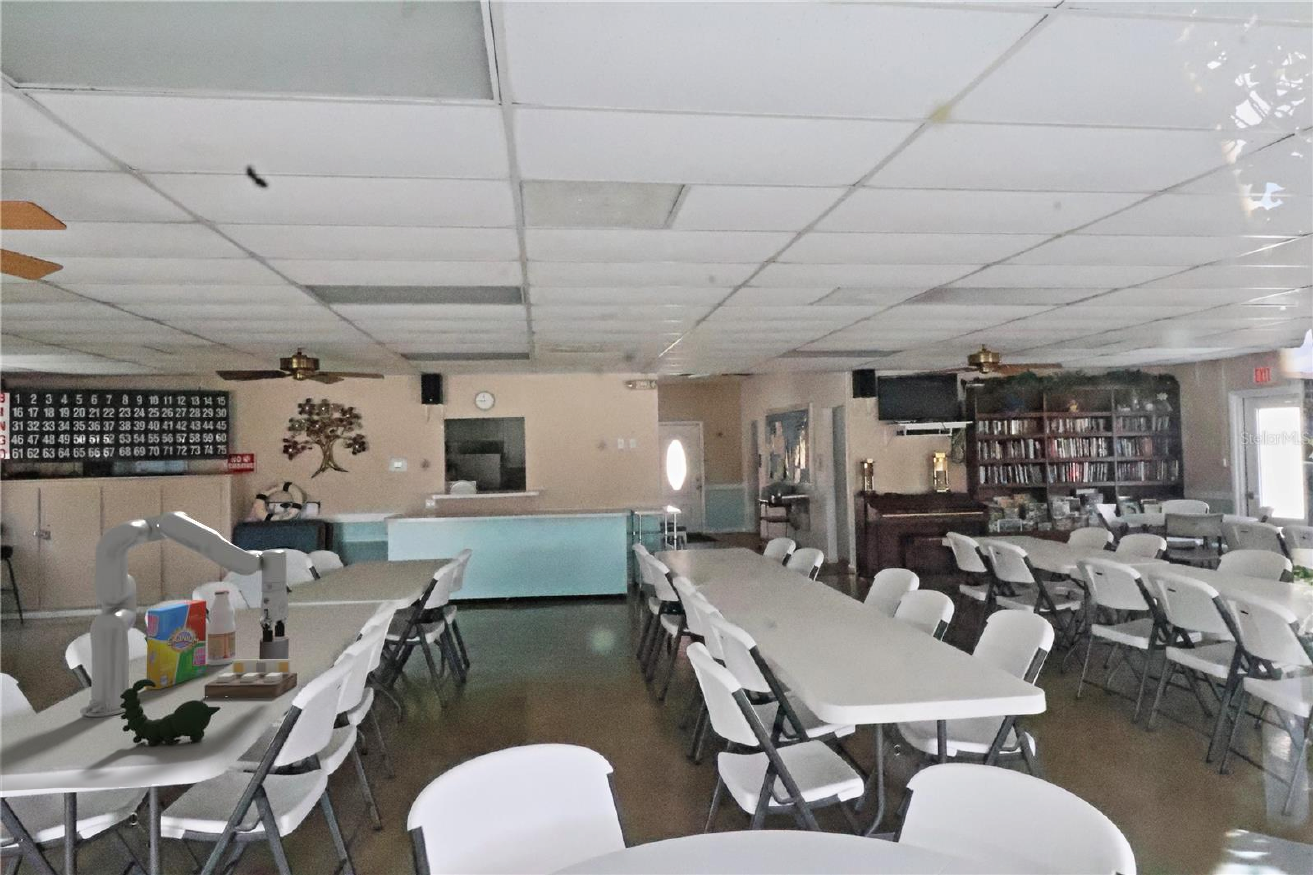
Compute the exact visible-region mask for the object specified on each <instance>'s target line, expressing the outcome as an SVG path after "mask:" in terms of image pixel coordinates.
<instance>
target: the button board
mask: <svg viewBox="0 0 1313 875" xmlns="http://www.w3.org/2000/svg"><path fill="white" fill-rule="evenodd" d="M243 675H245V674H238V675H236V679H235V680H233V681H231V682H218V678H216V679H215V680H213V681H211V682H209V683H206V684H205V685H204V696H205V697H206V696H208V697H209V698H226V697H225V696H228V697H227V698H277V697H279V696H280V695H282V694H283V693H286V692H287V691H289V690H290V689H292V688H293V687H295V686H297V685H298V672H290V674H283V679H281V680H279V681H277V682H265V676H266V675H268V674H259V679H258V680H256V681H254V682H241V676H243Z"/></svg>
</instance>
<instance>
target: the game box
mask: <svg viewBox="0 0 1313 875" xmlns="http://www.w3.org/2000/svg"><path fill="white" fill-rule="evenodd" d="M146 635H147V641H146V642H147V643H146V644H147V645H146V646H147V647H146V648H147V649H146V676H145V677H146V678H145V679H149V680H151V681H153V682H154V683H155V684H156V687H152V686H145V689H146V690H162V689H165V688H167V687H170V686H174V685H176V684H180V683H182V682H186V681H189V680H191V678H192V679H195V678H196V677H200V676H203V675H206V660H207V658H206V655H207V654H206V653H207V652H206V650H207V648H206V644H207V641H206V638H207V600H200V599H199V600H197V599H195V600H194V599H193V600H190V601H185V602H182V603H178V604H173V605H169V606H168V605H167V606H163V607H157V608H153V609H149V610H147V633H146ZM188 679H189V680H188ZM179 682H180V683H179Z"/></svg>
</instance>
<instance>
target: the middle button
mask: <svg viewBox="0 0 1313 875" xmlns="http://www.w3.org/2000/svg"><path fill="white" fill-rule="evenodd" d="M258 679H259V673H247V674H245V675H243V676H241V682H254V681H256V680H258Z"/></svg>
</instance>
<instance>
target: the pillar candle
mask: <svg viewBox="0 0 1313 875" xmlns="http://www.w3.org/2000/svg"><path fill="white" fill-rule="evenodd" d="M289 638H290V636H288V635H285V636H284V637H275V635H273V642H263V637H262V638H260V639H259V652H258V653H259V655H258V656H259V658H258V659H290V658H289V652H290V648H289V646H290V645H289V642H290V639H289Z"/></svg>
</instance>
